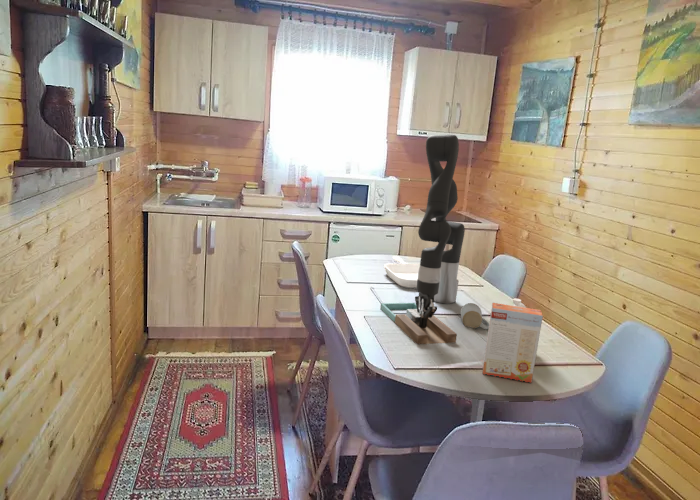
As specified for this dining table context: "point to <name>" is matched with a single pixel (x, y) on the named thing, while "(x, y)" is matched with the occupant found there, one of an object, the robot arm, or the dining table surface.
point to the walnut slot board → (426, 330)
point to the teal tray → (396, 308)
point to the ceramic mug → (473, 316)
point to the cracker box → (512, 342)
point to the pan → (403, 273)
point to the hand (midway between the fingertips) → (422, 327)
